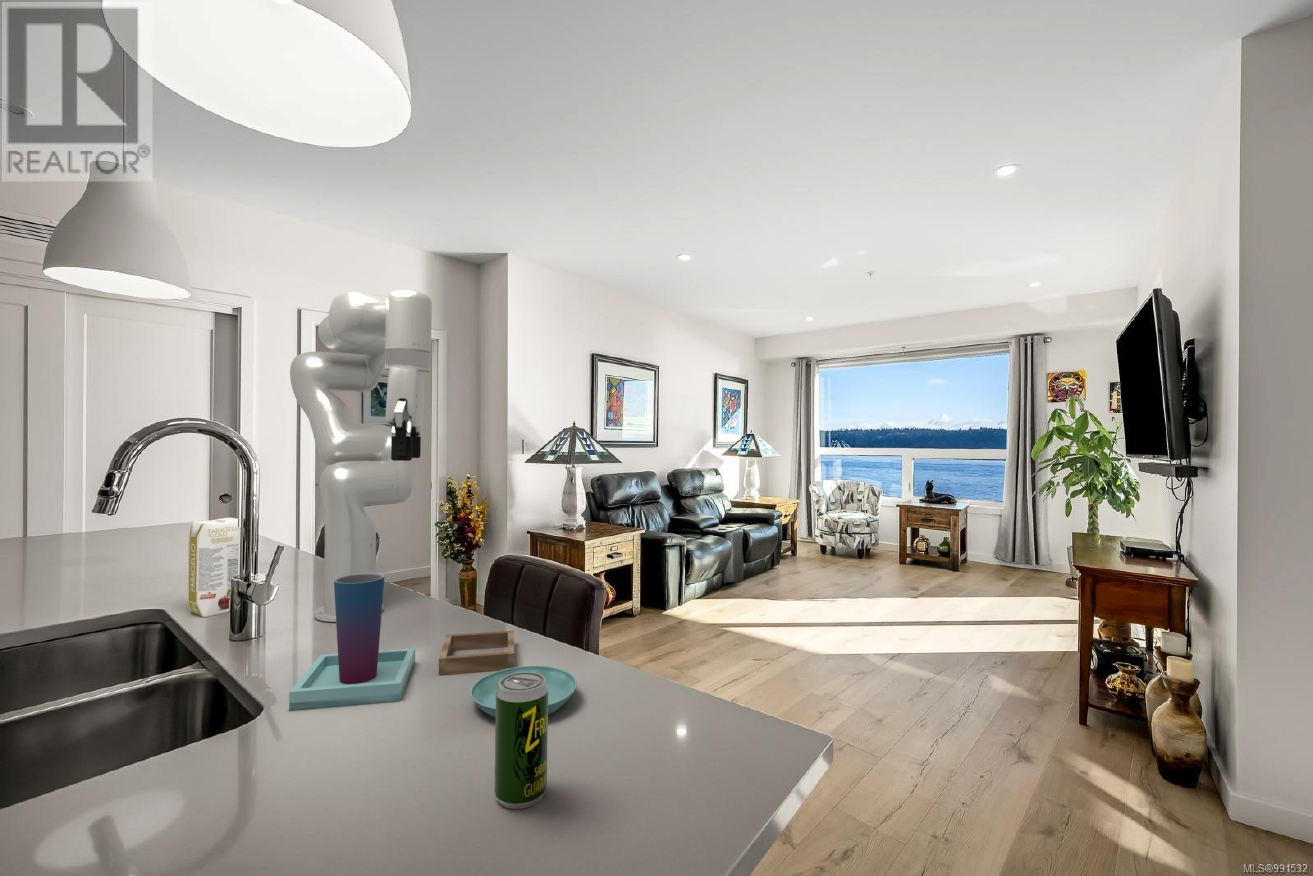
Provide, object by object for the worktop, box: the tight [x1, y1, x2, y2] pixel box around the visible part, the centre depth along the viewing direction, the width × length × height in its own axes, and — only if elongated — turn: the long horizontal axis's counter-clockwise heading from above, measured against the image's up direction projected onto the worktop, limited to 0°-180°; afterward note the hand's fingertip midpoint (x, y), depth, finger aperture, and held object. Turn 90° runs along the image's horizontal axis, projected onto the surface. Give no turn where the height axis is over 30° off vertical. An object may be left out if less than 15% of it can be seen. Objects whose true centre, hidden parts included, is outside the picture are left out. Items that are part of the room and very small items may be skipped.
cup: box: [334, 572, 385, 684], centre depth 89 cm, size 7×7×15 cm
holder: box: [438, 630, 515, 676], centre depth 100 cm, size 12×12×2 cm
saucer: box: [469, 665, 578, 719], centre depth 84 cm, size 15×15×3 cm
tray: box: [288, 647, 416, 712], centre depth 89 cm, size 14×14×2 cm
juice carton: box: [187, 517, 239, 618], centre depth 123 cm, size 8×9×19 cm
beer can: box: [494, 672, 549, 810], centre depth 62 cm, size 5×5×12 cm
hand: (406, 459), depth 105 cm, fingers open, 9 cm apart
